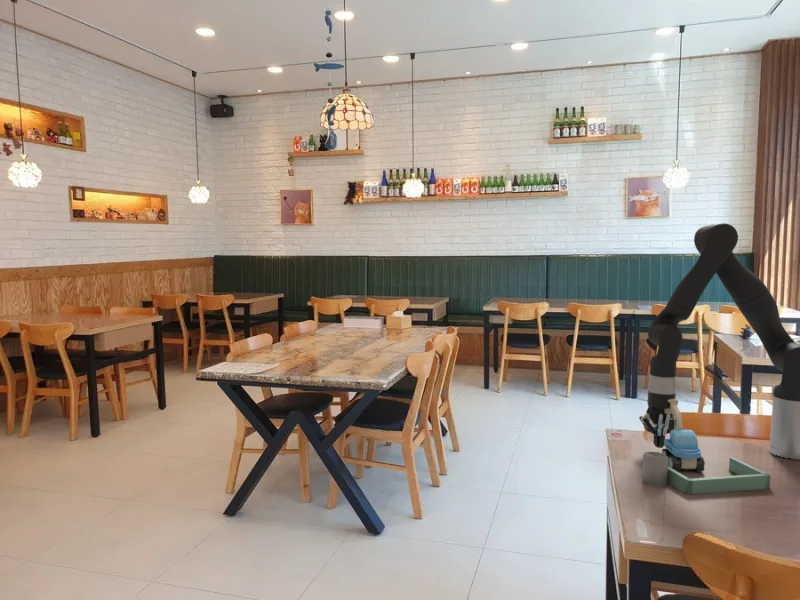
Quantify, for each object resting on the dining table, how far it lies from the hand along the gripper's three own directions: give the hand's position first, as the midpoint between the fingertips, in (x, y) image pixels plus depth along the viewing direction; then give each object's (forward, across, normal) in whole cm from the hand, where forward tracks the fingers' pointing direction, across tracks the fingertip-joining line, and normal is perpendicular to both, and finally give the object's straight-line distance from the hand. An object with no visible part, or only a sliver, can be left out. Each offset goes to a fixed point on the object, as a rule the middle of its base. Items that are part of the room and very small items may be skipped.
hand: (658, 446), depth 176 cm
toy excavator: (+2, 0, +9) cm, 9 cm away
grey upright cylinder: (+2, +15, +20) cm, 25 cm away
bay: (+2, 0, +22) cm, 22 cm away
